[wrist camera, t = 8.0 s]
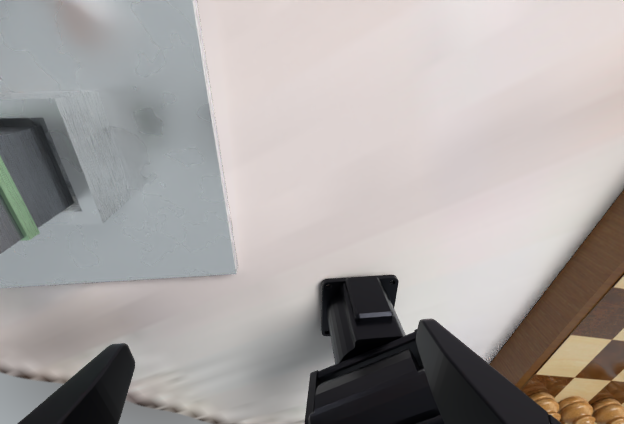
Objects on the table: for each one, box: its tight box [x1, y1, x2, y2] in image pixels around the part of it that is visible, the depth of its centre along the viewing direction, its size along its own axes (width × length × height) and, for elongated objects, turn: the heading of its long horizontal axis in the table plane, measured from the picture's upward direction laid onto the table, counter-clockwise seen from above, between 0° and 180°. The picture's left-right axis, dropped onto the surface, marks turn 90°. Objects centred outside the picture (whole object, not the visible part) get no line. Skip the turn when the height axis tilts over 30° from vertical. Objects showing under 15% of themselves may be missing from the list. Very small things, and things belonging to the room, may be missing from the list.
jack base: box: [0, 0, 238, 288], centre depth 14 cm, size 20×18×9 cm
